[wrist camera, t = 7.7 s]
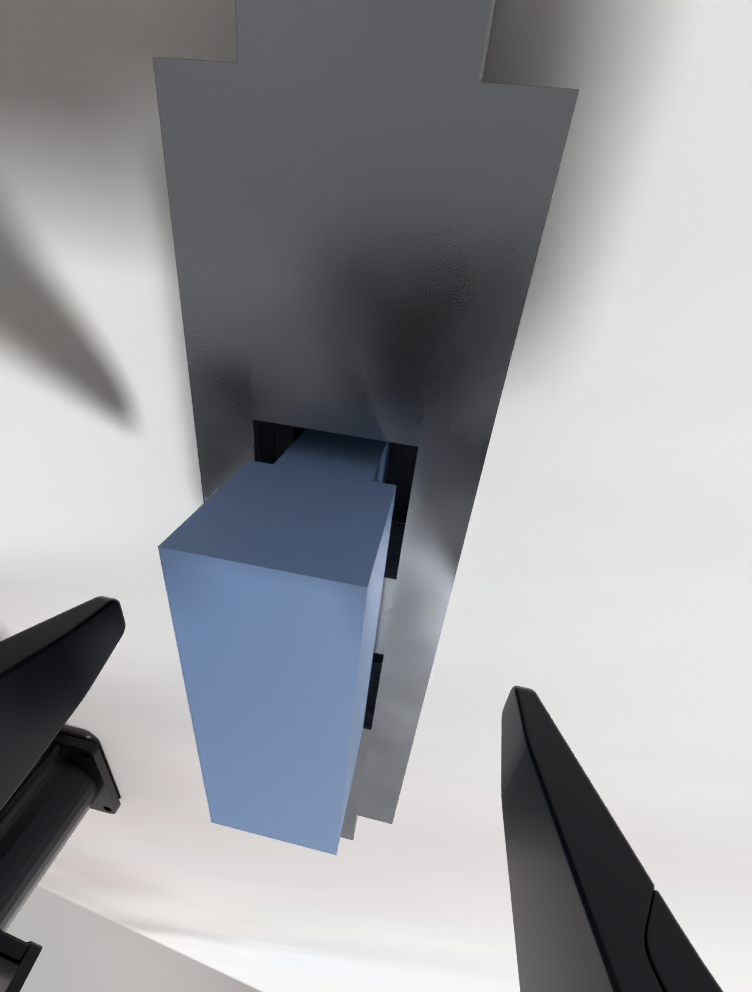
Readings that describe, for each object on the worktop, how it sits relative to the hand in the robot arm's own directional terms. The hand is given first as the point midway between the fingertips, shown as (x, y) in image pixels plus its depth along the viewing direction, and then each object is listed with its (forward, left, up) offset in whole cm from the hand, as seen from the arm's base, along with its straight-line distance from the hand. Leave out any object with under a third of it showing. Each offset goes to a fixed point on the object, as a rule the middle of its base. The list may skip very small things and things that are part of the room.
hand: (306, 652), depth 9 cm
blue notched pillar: (0, 0, -4) cm, 4 cm away
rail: (0, 0, -4) cm, 4 cm away
